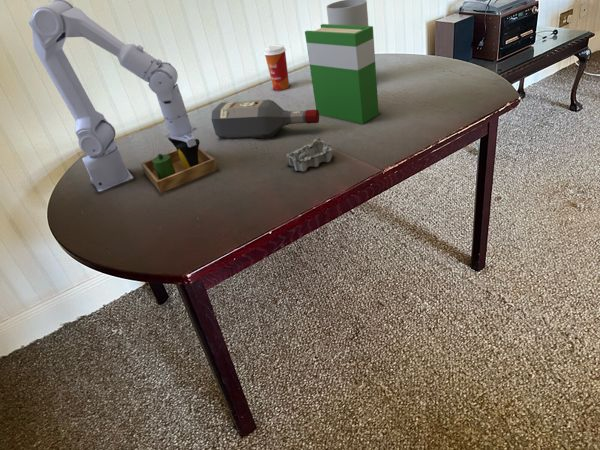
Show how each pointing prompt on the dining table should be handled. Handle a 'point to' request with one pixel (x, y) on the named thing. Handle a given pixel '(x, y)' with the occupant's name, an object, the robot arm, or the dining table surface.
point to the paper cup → (277, 66)
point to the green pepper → (163, 166)
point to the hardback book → (343, 71)
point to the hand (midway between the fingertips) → (191, 163)
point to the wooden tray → (179, 170)
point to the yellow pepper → (184, 161)
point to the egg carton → (310, 155)
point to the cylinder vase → (348, 13)
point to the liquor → (256, 118)
